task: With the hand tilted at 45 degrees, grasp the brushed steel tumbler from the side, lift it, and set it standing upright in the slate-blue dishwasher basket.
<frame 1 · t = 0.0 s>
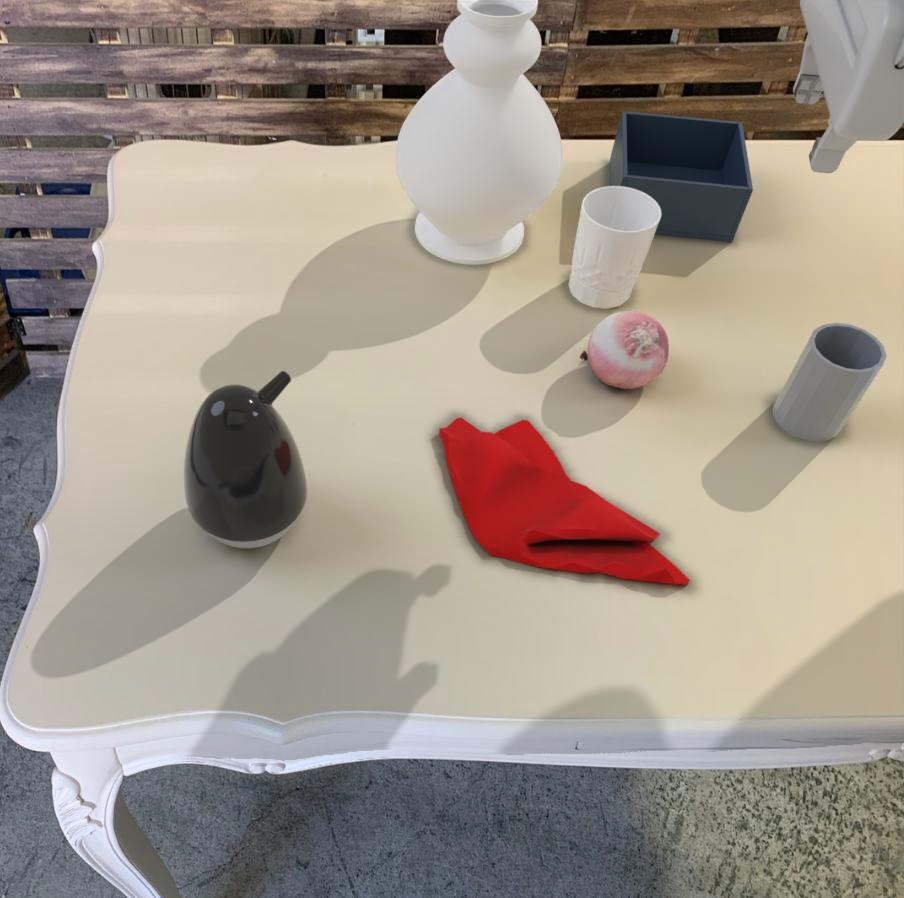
hand: (811, 132, 67), 27 cm above the table, tool pointing down, fingers open, 8 cm apart
cloth: (539, 513, 80), on the table
decorative vase: (468, 232, 104), on the table
basket: (667, 201, 108), on the table
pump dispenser: (252, 519, 79), on the table
onion: (617, 375, 90), on the table
steel cup: (806, 417, 87), on the table
white cup: (598, 290, 98), on the table
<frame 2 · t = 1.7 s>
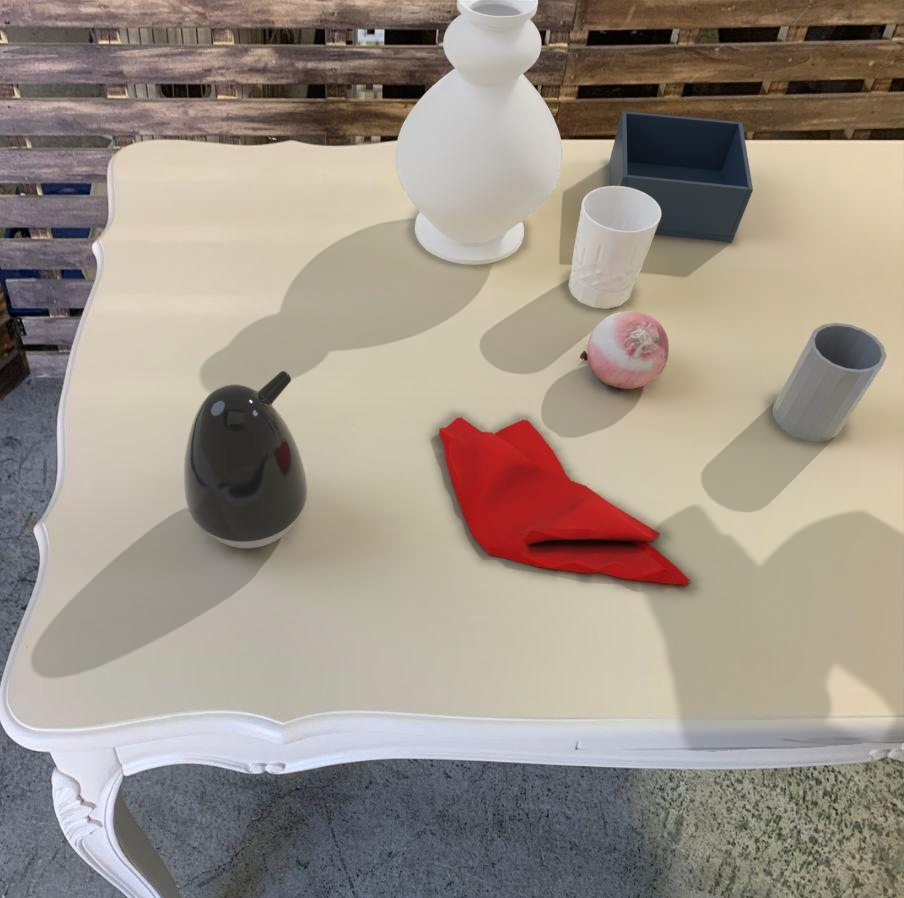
nothing on the table moved.
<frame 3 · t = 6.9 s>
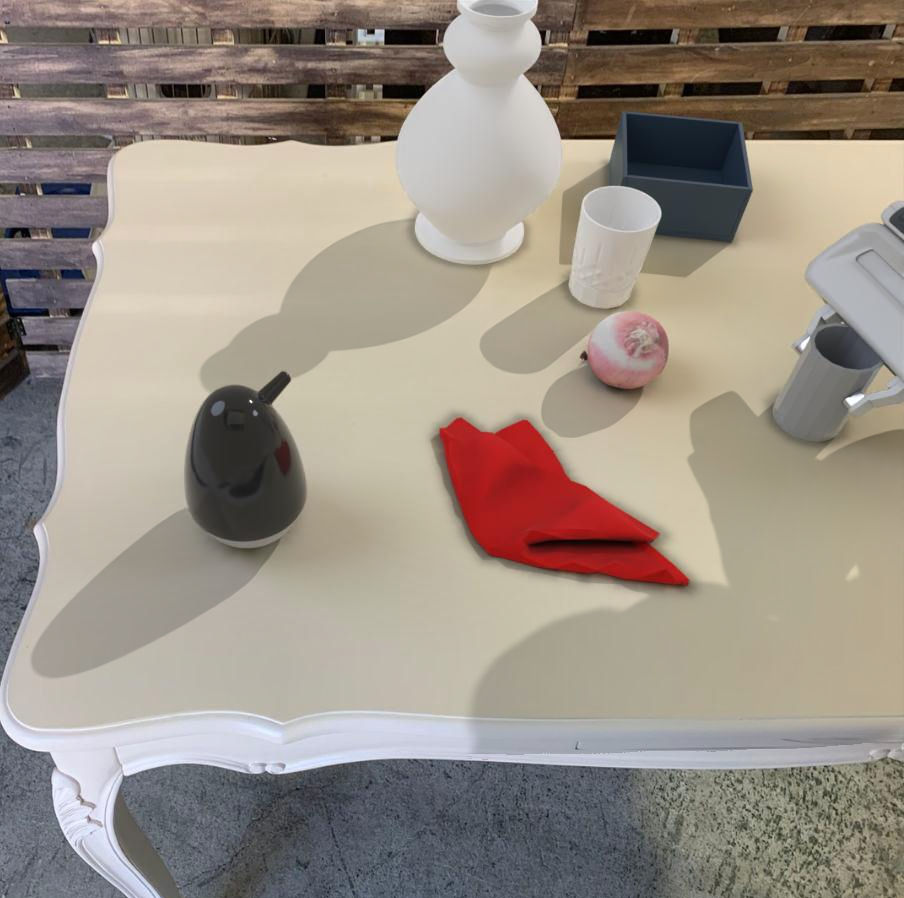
hand: (821, 381, 83), 5 cm above the table, tool tilted 45°, fingers closed on steel cup, 6 cm apart
steel cup: (806, 417, 87), on the table, touching gripper
everything else where it was.
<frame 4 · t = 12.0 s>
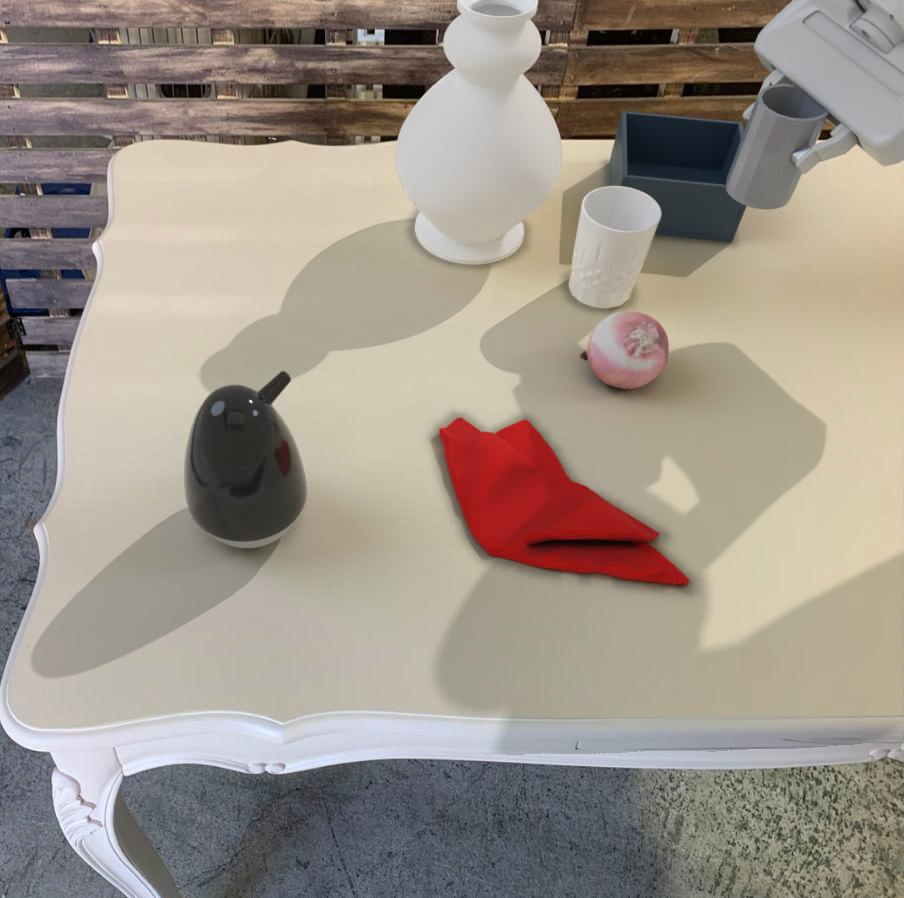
hand: (771, 144, 85), 16 cm above the table, tool tilted 45°, fingers closed on steel cup, 6 cm apart
steel cup: (758, 190, 89), point 12 cm above the table, touching gripper
everything else where it was.
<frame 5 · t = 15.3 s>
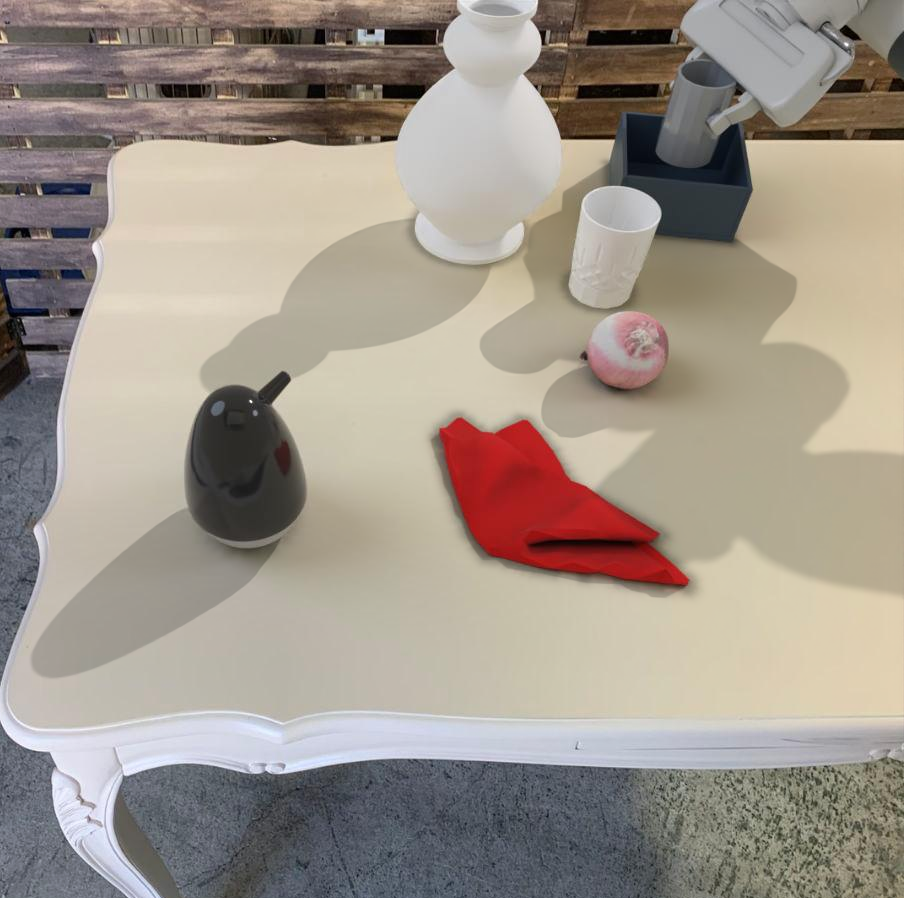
hand: (691, 110, 99), 11 cm above the table, tool tilted 45°, fingers closed on steel cup, 6 cm apart
steel cup: (683, 152, 103), point 6 cm above the table, touching gripper
everything else where it was.
when the fingers open (6 cm above the table, at t = 17.4 s): steel cup stays where it is, resting on basket.
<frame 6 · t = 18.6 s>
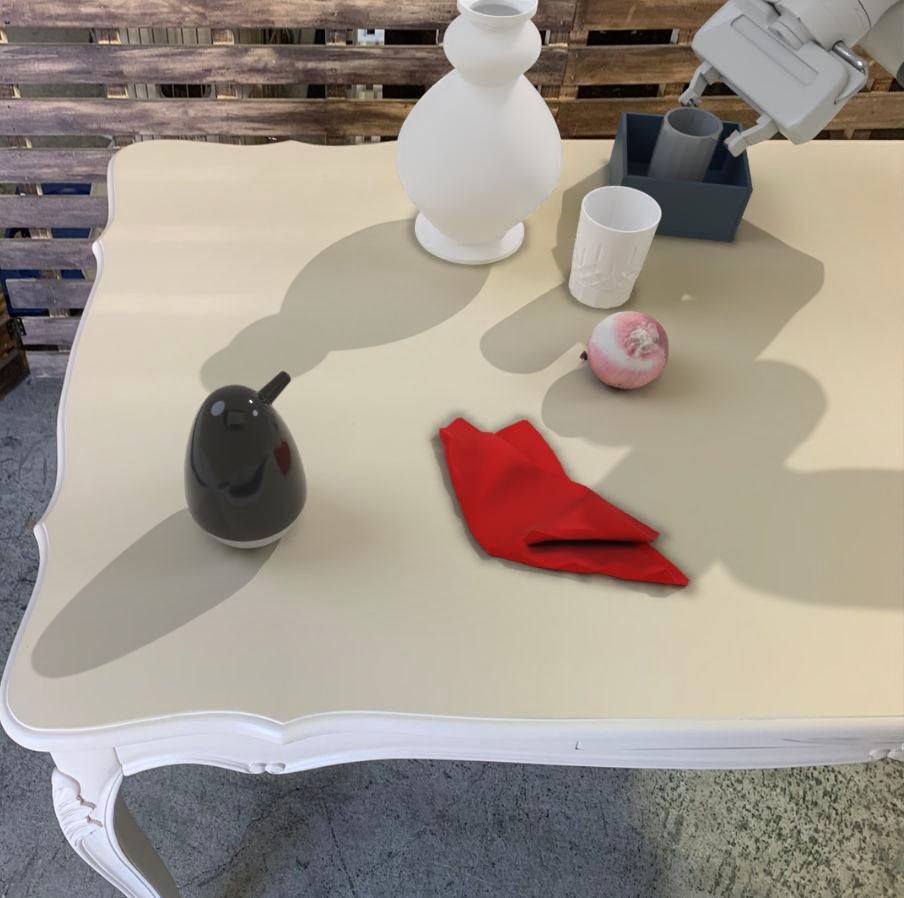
hand: (705, 128, 100), 9 cm above the table, tool tilted 45°, fingers open, 8 cm apart
steel cup: (669, 194, 107), point 1 cm above the table, touching basket
everything else where it was.
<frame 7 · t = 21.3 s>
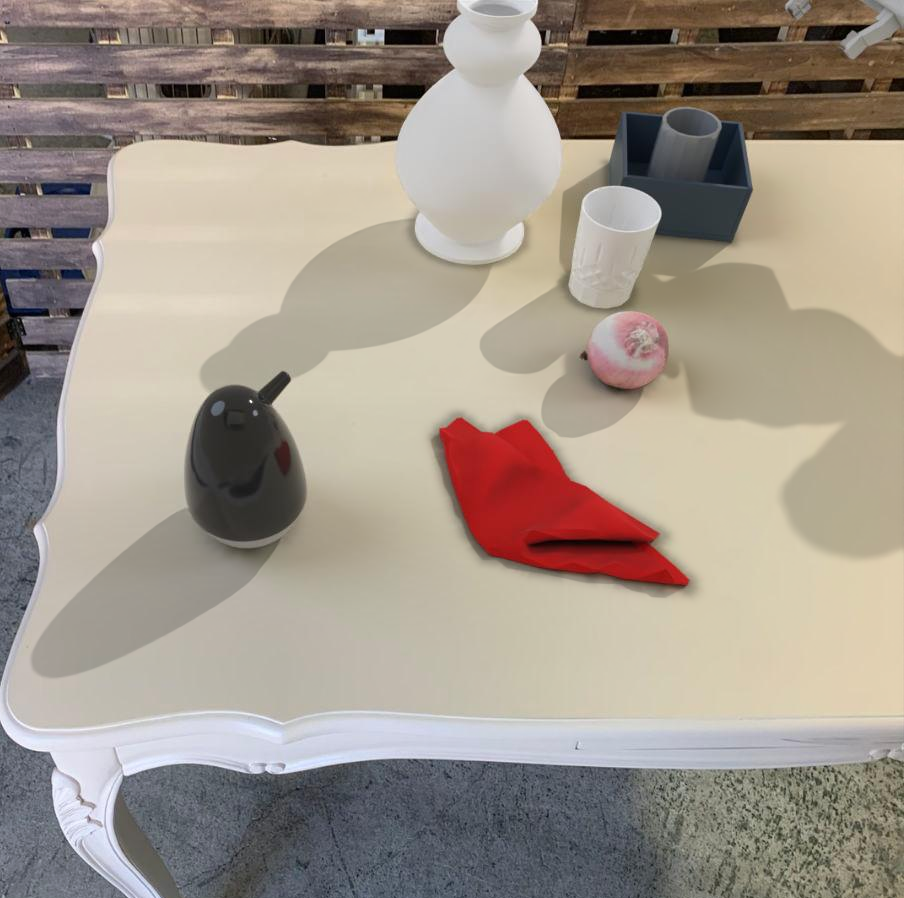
hand: (816, 33, 95), 18 cm above the table, tool tilted 40°, fingers open, 8 cm apart
nothing on the table moved.
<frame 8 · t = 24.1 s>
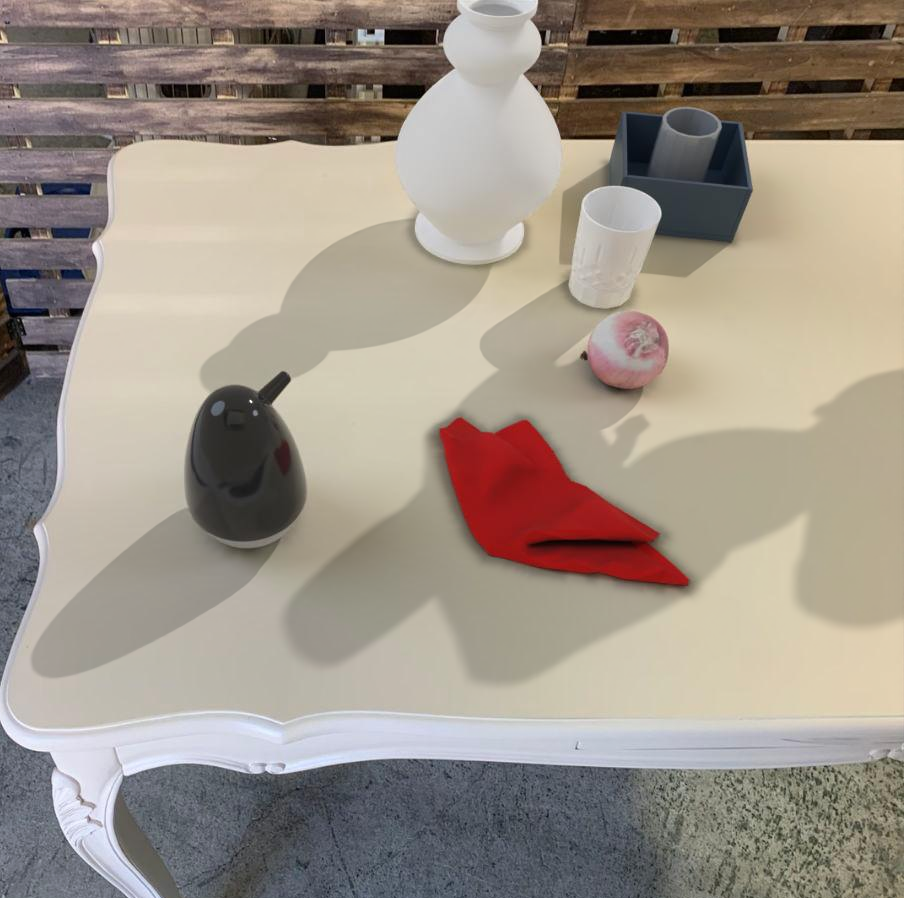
nothing on the table moved.
at the end: steel cup inside the target area in the basket (0.2 cm from its centre), point 0.8 cm above the basket's base; steel cup tilted 0°; the gripper is holding nothing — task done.
